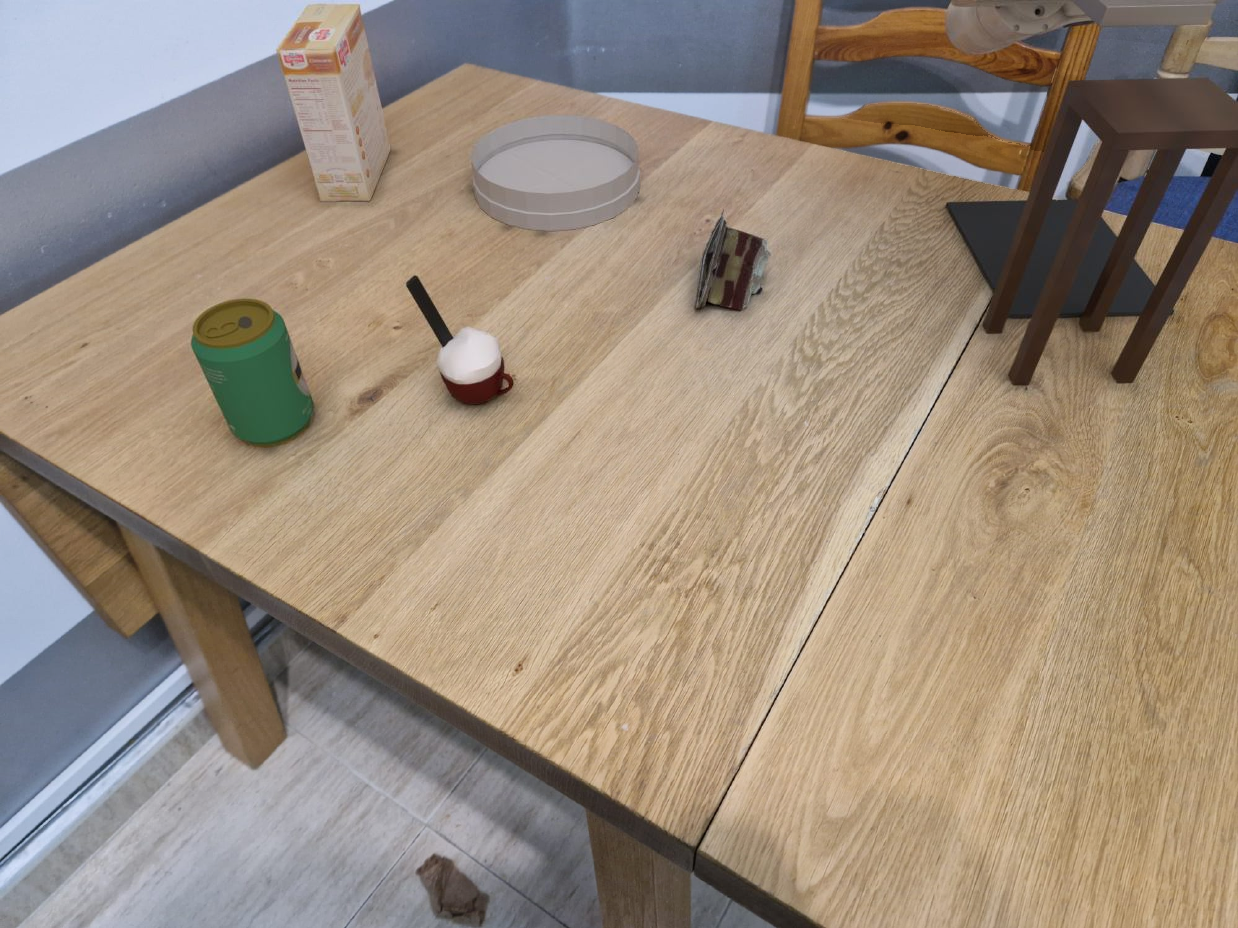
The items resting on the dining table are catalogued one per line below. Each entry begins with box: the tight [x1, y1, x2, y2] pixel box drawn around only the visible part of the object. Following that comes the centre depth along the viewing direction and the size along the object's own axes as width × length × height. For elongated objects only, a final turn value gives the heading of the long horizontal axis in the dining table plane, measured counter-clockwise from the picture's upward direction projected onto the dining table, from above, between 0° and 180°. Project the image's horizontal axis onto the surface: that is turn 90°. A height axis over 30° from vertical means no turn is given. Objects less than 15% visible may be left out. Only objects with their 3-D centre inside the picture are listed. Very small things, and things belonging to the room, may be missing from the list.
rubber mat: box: [945, 198, 1175, 319], centre depth 102 cm, size 18×24×1 cm
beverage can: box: [190, 298, 315, 448], centre depth 80 cm, size 8×8×12 cm
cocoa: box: [405, 274, 515, 405], centre depth 82 cm, size 10×6×12 cm, turn 40°
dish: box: [470, 114, 641, 232], centre depth 113 cm, size 22×22×5 cm
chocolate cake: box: [693, 208, 772, 311], centre depth 98 cm, size 10×7×12 cm
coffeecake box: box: [275, 3, 392, 202], centre depth 112 cm, size 15×7×20 cm, turn 0°
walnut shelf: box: [982, 77, 1238, 386], centre depth 80 cm, size 12×10×26 cm
